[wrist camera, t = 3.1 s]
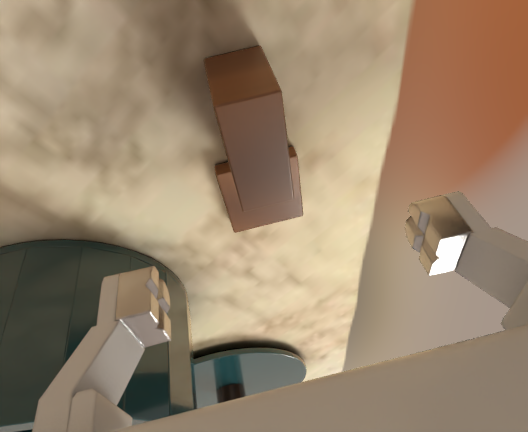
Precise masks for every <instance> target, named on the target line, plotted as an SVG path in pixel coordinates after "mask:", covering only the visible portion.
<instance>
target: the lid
mask: <svg viewBox="0 0 528 432" xmlns="http://www.w3.org/2000/svg"><path fill="white" fill-rule="evenodd" d="M193 360H194V373H195V386H196V399H197V409H199V408H203V407H207V406H211V405H215V404H218V403H222V402H226V401H230V400H234V399H238V398H242V397H246V396H250V395H254V394H258V393H261V392H265V391H269V390H273V389H277V388H281V387H285V386H289V385H293V384H297V383H301V382H302V381H303V379H304V378H305V375H306V366H305V363H304V361H303V360H302V358H301V357H299V356H298V355H296V354H294V353H292V352H289V351H286V350H281V349H275V348H243V349H234V350H228V351H222V352H218V353H214V354H209V355H206V356H203V357H199V358H196V359H193Z"/></svg>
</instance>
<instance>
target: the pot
mask: <svg viewBox="0 0 528 432" xmlns="http://www.w3.org/2000/svg"><path fill="white" fill-rule="evenodd" d="M152 266H155V268H156V269H157V271H158V272H159V279H162V280H164V282H165V284H166V286H167V289H168V292H169V297H170V309H169V311H168V313H167V316H168V317H169V319H170V320H171V340H170V341H167V342H163V343H159V344H156V345H152V346H149V347H145V350H144V352H143V354H142V356H141V358H140V360H139V362H138V364H137V366H136V368H135V370H134V372H133V374H132V376H131V378H130V380H129V382H128V384H127V386H126V388H125V390H124V392H123V394H122V396H121V398H120V400H119V402H118V404H117V407H119V408H120V409H122V410H123V411H124V412H126V413H127V414H129V415H130V416H131V417H132V425H136V424H140V423H144V422H148V421H152V420H156V419H160V418H164V417H168V416H172V415H175V414H179V413H183V412H187V411H191V410H195V409H197V399H196V386H195V373H194V360H193V346H192V333H191V320H190V309H189V305H188V297H187V292H186V290H185V288H184V285H183V284H182V283H181V281H180V280H179V278H178V277H177V276H176V275H175V274H174V273H173V272H172V271H171V270H169V269H168V268H167V267H165V266H164V265H162V264H161V263H159V262H157V261H155V260H154V259H152V258H150V257H148V256H145V255H143V254H140V253H138V252H135V251H132V250H129V249H126V248H122V247H119V246H114V245H109V244H104V243H98V242H90V241H79V240H43V241H34V242H25V243H19V244H14V245H9V246H5V247H1V248H0V432H32V430H33V425H34V420H35V416H36V411H37V406H38V401H39V399H40V398H41V396H42V395H43V394H44V392H45V391H46V390H47V388H48V387H49V385H50V384H51V383H52V381H53V380H54V378H55V377H56V376H57V374H58V373H59V372H60V370H61V369H62V367H63V366H64V365H65V363H66V362H67V361H68V359H69V358H70V356H71V355H72V354H73V352H74V351H75V349H76V348H77V347H78V345H79V344H80V343H81V341H82V340H83V338H84V337H85V336H86V334H87V333H88V331H89V330H90V329H91V327H94V326H96V325H97V317H98V309H99V301H100V293H101V285H102V281H103V279H104V277H107V276H111V275H116V274H120V273H124V272H129V271H134V270H138V269H143V268H147V267H152Z"/></svg>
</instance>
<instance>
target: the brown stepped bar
mask: <svg viewBox="0 0 528 432" xmlns="http://www.w3.org/2000/svg"><path fill="white" fill-rule="evenodd" d="M204 64H205V69H206V74H207V79H208V84H209V89H210V93H211V98H212V103H213V108H214V111H215V115H216V119H217V122H218V126H219V130H220V133H221V137H222V140H223V144H224V148H225V151H226V155H227V158H228V162H226V163H222V164H218V165H215V167H214V168H215V173H216V177H217V181H218V184H219V187H220V190H221V193H222V196H223V199H224V202H225V206H226V209H227V212H228V215H229V218H230V221H231V224H232V227H233V231H234V232H235V233H236V232H240V231H244V230H248V229H252V228H256V227H260V226H264V225H268V224H272V223H276V222H280V221H284V220H288V219H292V218H296V217H300V216H303V207H302V197H301V187H300V177H299V167H298V158H297V154H296V151H295V149H294V147H288V140H287V131H286V123H285V115H284V107H283V98H282V91H281V89H280V86H279V84H278V82H277V80H276V78H275V76H274V73H273V71H272V69H271V67H270V65H269V63H268V60H267V58H266V56H265V54H264V52H263V49H262V47H261V46H256V47H251V48H247V49H243V50H239V51H234V52H230V53H226V54H222V55H217V56H213V57H209V58H205V59H204Z"/></svg>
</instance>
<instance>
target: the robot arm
mask: <svg viewBox="0 0 528 432" xmlns="http://www.w3.org/2000/svg"><path fill="white" fill-rule="evenodd" d="M408 212H409V214H410V215H411V216H410V217H409V218H408V219H407V220H406V224H405V231H406V236H407V239H408V242H409V243H410V245H411V247H412V248H413V249H414V250H416V251H418V252H420V256H419V260H420V262H421V264H422V265H423V267H424V269H425V270H426V272H427V273H428V275H429V276H431V275H435V274H440V273H444V272H449V271H453V270H455V272H456V273H458V274H460V275H461V276H462V277H464V278H465V279H467V280H468V281H470V282H471V283H473V284H474V285H476V286H477V287H479V288H480V289H482V290H483V291H485V292H486V293H488V294H489V295H491V296H492V297H494V298H495V299H497V300H498V301H500V302H502V303H503V304H505V305H506V306H507V307H509V308H510V309H509V311H508V312H507V314H506V315H505V316H504V318H503V320H502V322H501V325H502V326H503V328H504V329H505V330H504V331H500V332H497V333H493V334H489V335H485V336H481V337H477V338H473V339H469V340H465V341H462V342H457V343H453V344H450V345H446V346H442V347H438V348H434V349H430V350H426V351H422V352H418V353H415V354H410V355H406V356H402V357H399V358H395V359H391V360H387V361H383V362H379V363H375V364H372V365H367V366H363V367H360V368H355V369H352V370H348V371H344V372H340V373H336V374H332V375H328V376H324V377H320V378H316V379H312V380H308V381H305V382H301V383H297V384H293V385H289V386H285V387H281V388H277V389H273V390H269V391H265V392H261V393H258V394H254V395H250V396H246V397H242V398H238V399H234V400H230V401H226V402H222V403H218V404H215V405H211V406H207V407H203V408H199V409H195V410H191V411H187V412H183V413H179V414H175V415H172V416H168V417H164V418H160V419H156V420H152V421H148V422H144V423H140V424H136V425H132V417H131V416H130V415H129V414H127V413H126V412H124V411H123V410H122V409H120V408H119V407H117V404H118V402H119V400H120V398H121V396H122V394H123V392H124V390H125V388H126V386H127V384H128V382H129V380H130V378H131V376H132V374H133V372H134V370H135V368H136V366H137V364H138V362H139V360H140V358H141V356H142V354H143V352H144V350H145V347H149V346H152V345H156V344H159V343H163V342H167V341H170V340H171V320H170V319H169V317H168V316H167V313H168V311H169V309H170V297H169V292H168V289H167V286H166V284H165V282H164V280H162V279H159V272H158V271H157V269H156V268H155V266H152V267H147V268H143V269H138V270H134V271H129V272H124V273H120V274H116V275H111V276H107V277H104V279H103V281H102V285H101V293H100V301H99V309H98V317H97V325H96V326H94V327H91V329H90V330H89V331H88V333H87V334H86V336H85V337H84V338H83V340H82V341H81V343H80V344H79V345H78V347H77V348H76V349H75V351H74V352H73V354H72V355H71V356H70V358H69V359H68V361H67V362H66V363H65V365H64V366H63V367H62V369H61V370H60V372H59V373H58V374H57V376H56V377H55V378H54V380H53V381H52V383H51V384H50V385H49V387H48V388H47V390H46V391H45V392H44V394H43V395H42V396H41V398H40V399H39V401H38V406H37V411H36V416H35V420H34V425H33V430H32V432H528V241H526V240H523V239H521V238H519V237H517V236H514V235H512V234H510V233H508V232H506V231H504V230H501V229H499V228H497V227H495V228H491V227H490V226H489V224H488V223H487V222H486V221H485V220H484V218H483V217H482V216H481V215H480V214H479V213H478V211H477V210H476V209H475V208H474V207H473V205H472V204H471V203H470V202H469V201H468V199H467V198H466V197H465V196H464V195H463V193H461V192H459V191H458V192H454V193H450V194H445V195H442V196H441V195H440V196H436V197H432V198H428V199H424V200H420V201H417V202H413V203H411V204H410V205H409V209H408Z"/></svg>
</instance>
